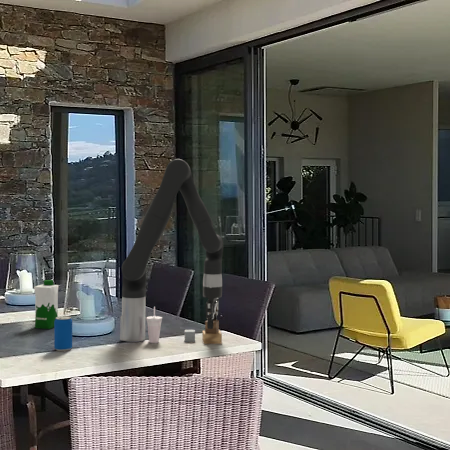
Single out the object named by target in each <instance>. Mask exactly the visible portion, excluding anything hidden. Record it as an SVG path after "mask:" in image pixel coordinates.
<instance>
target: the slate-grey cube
mask: <svg viewBox="0 0 450 450" xmlns="http://www.w3.org/2000/svg"><path fill="white" fill-rule="evenodd" d="M184 342H187V343H190V342H192V343H193V342H194V343H196V330H195V329H184Z"/></svg>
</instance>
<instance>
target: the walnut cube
mask: <svg viewBox="0 0 450 450" xmlns="http://www.w3.org/2000/svg"><path fill="white" fill-rule="evenodd" d="M219 321H220V320H218V319H217V320H213V329H208V328H207V320H205V321H204V327H205V328H204V331H205V333H213V334H217V333H218V332H219V330H220V326H219V325H220V322H219Z"/></svg>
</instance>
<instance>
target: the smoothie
mask: <svg viewBox="0 0 450 450" xmlns="http://www.w3.org/2000/svg"><path fill="white" fill-rule="evenodd" d="M162 321H163V316H158V315H156V306H153V316H152V315H150V316H147V317H146V316H145V322H146V325H147V333H148V334H147V335H148V343H150V344H157V343H159V341H160V333H161V325H162Z"/></svg>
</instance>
